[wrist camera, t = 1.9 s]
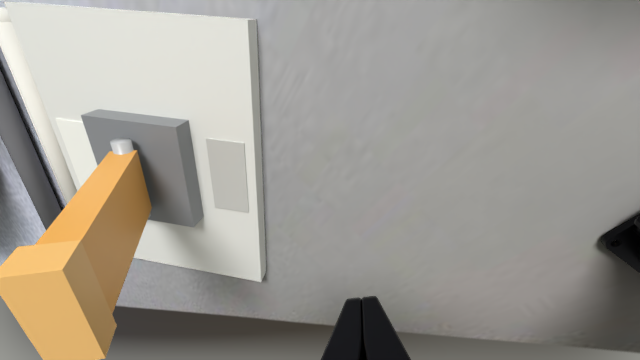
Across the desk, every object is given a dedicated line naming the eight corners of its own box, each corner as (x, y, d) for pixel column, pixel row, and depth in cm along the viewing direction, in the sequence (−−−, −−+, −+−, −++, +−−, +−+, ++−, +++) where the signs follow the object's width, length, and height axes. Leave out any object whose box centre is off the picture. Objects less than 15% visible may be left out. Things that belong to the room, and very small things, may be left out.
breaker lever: (140, 137, 18) (58, 262, 9) (158, 210, 20) (107, 362, 12) (105, 138, 17) (-16, 271, 9) (128, 213, 20) (52, 373, 11)
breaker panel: (256, 19, 16) (236, 20, 14) (266, 270, 25) (255, 295, 23) (25, 2, 18) (-24, 1, 16) (111, 241, 27) (87, 262, 24)
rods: (-41, 3, 19) (-71, 2, 17) (23, 8, 18) (-3, 8, 17) (61, 230, 27) (46, 240, 26) (107, 238, 26) (94, 249, 25)
